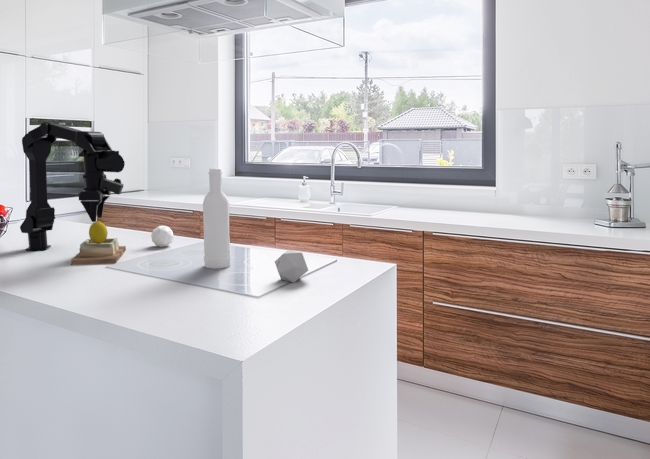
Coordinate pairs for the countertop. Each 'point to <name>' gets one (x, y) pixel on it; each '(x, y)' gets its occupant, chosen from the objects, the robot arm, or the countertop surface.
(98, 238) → the lemon
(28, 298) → the countertop surface
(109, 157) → the robot arm
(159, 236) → the ball
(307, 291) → the countertop surface
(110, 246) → the plinth
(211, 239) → the bottle
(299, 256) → the die
